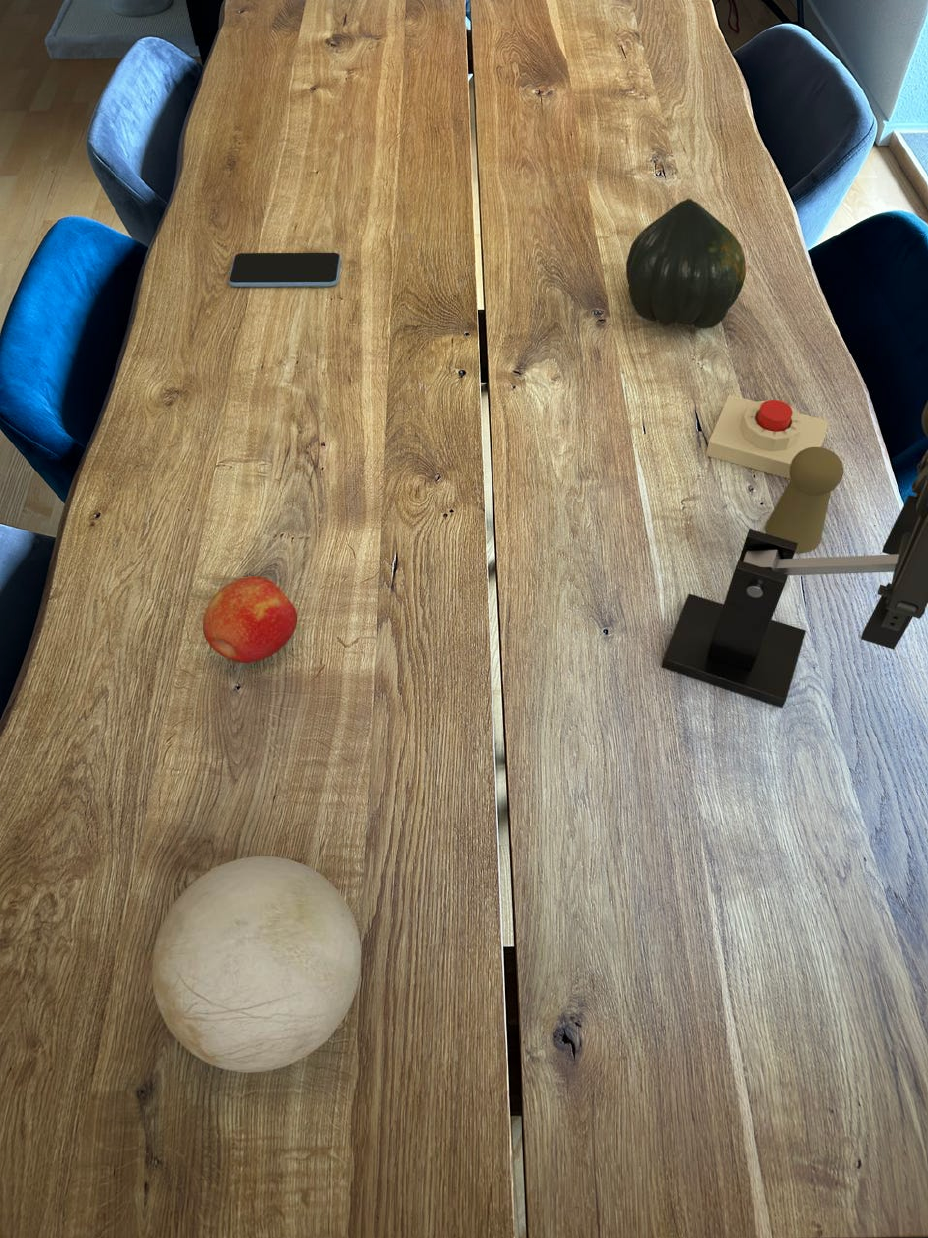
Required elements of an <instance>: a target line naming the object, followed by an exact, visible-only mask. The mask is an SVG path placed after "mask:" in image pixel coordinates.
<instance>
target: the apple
mask: <svg viewBox="0 0 928 1238" xmlns="http://www.w3.org/2000/svg"><path fill="white" fill-rule="evenodd" d="M297 624H298V613H297V609H296V607H295V606H294V604H293V602H292V601H291V600H290V599H289V597H288V596H287V595H286V593H285V592H284V591H283V590H282V589H281V588H280V587H279V586H278V585H277V584H276V583H274V581H272V580H270V579H268V578H265V577H263V576H256V575H249V576H243V577H240V578H237V579H235V580H233V581H231V582H229V583H228V584H226V585H224V586H223V587H222V588H221V589H219V590H218V591H217V592H216V593H215V595H214V596H213V597H212V598H211V600H210V601H209V603H208V605H207V607H206V608H205V612H204V615H203V619H202V632H203V636H204V639H205V641H206V643H207V644H208V645H209V646H210V647H211V648H212V649H213V650H214V651H215V652H216V653H218V654H219V655H221V656H223V657H224V658H226V659H228V660H230V661H233V662H236V663H241V664H249V663H255V662H259V661H263V660H265V659H267V658H270V657H271V656H273V655H274V654H276V653H277V652H279V651H280V650H281V649H282V648H283V647H285V645H287V644H288V642H289V641H290V639H291V638H292V636H293V634H294V632H295V630H296V628H297Z"/></svg>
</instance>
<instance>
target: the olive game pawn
mask: <svg viewBox="0 0 928 1238" xmlns="http://www.w3.org/2000/svg"><path fill="white" fill-rule="evenodd" d="M843 476H844V464H843V461H842V460H841V458H840V456H839V455H838V454H837V453H835V452H834V451H832V450H831V449H828V448H825V447H822V446H821V447H809V448H806V449H804V450H802V451H800V452H799V453H798V454H797V455H796V456H795V457H794V458H793V460H792V463H791V466H790V479H789V480H788V481H789V482H788V484H787V485H786V487H785V488H784V490H783V492H782V493H781V496H780V498H779V499H778V501H777V503H776V505H775V506H774V508H773V509H772V512H771V513H770V515H769V516H768V519H767V521H766V523H765V526H764V530H765V533H766V534H769V535H773V536H776V537H779V538H783V539H786V540H789V541H793V542H796V543H798V546H797V549H796V552H795V554H804V553H805V554H806V553H809V552H812V551H813V550H816V549H817V547H818V546H819V545H820V544H821V541H822V536H823V532H824V528H825V522H826V517H827V514H828V508H829V502H830V498H831V494H832V492H833V491H834V490H835V489H836V488H838V486H839V484H841V481H842V479H843Z"/></svg>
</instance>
